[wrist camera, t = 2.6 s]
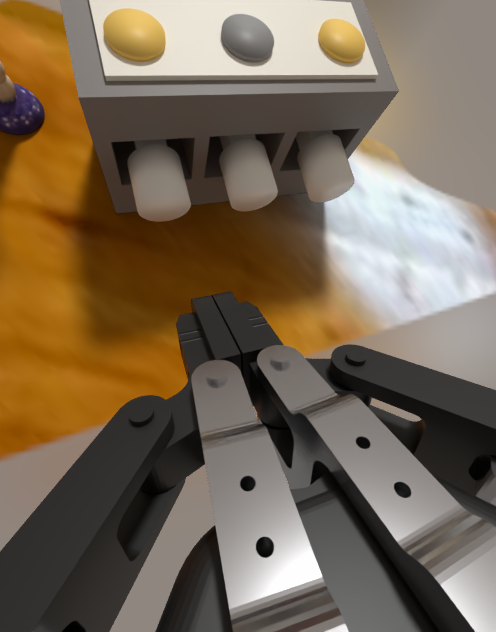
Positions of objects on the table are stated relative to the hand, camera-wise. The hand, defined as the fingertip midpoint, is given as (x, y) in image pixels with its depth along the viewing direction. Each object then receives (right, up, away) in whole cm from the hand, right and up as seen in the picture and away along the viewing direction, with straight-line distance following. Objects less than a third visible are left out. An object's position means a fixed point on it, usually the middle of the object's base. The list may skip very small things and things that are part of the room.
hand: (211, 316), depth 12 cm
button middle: (+1, +11, +14) cm, 18 cm away
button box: (-2, +15, +19) cm, 24 cm away
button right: (+7, +13, +16) cm, 21 cm away
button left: (-6, +10, +12) cm, 17 cm away
